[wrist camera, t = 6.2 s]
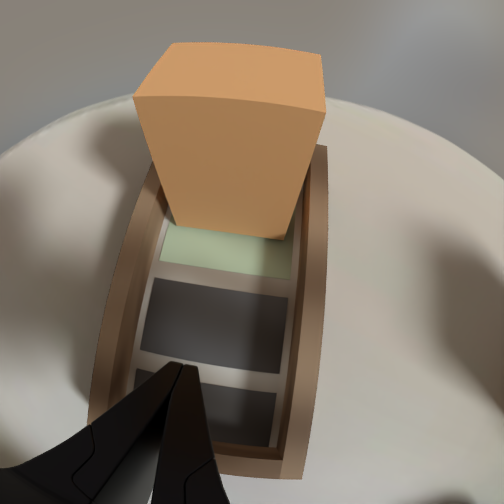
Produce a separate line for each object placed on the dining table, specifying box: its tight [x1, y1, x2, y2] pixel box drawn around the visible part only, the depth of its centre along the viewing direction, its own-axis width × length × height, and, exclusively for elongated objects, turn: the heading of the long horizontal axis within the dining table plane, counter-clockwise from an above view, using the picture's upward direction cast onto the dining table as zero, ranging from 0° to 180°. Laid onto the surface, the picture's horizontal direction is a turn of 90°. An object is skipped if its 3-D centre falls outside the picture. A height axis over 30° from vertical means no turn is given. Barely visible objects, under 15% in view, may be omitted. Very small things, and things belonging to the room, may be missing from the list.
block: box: [133, 42, 326, 240], centre depth 12 cm, size 4×6×9 cm, turn 82°
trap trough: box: [87, 144, 328, 479], centre depth 14 cm, size 18×10×3 cm, turn 172°
